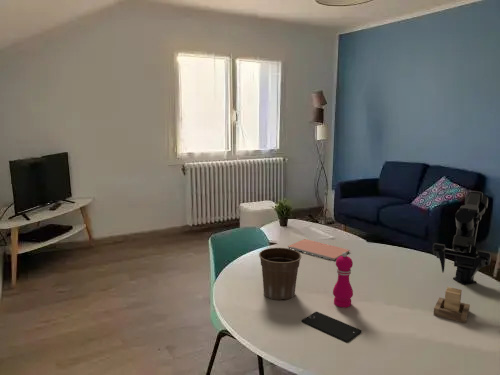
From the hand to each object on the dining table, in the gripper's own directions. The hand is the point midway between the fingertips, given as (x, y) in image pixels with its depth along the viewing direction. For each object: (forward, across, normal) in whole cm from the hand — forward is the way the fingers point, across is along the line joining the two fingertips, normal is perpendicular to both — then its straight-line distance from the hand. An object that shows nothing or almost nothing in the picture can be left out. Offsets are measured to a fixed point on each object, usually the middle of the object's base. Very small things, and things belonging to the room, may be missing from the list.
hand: (456, 274), depth 143 cm
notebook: (-10, -67, +29) cm, 73 cm away
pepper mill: (+23, -34, -5) cm, 42 cm away
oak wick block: (+12, 0, +5) cm, 13 cm away
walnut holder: (+12, 0, +5) cm, 13 cm away
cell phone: (+36, -32, -17) cm, 51 cm away
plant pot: (+27, -58, -9) cm, 65 cm away
